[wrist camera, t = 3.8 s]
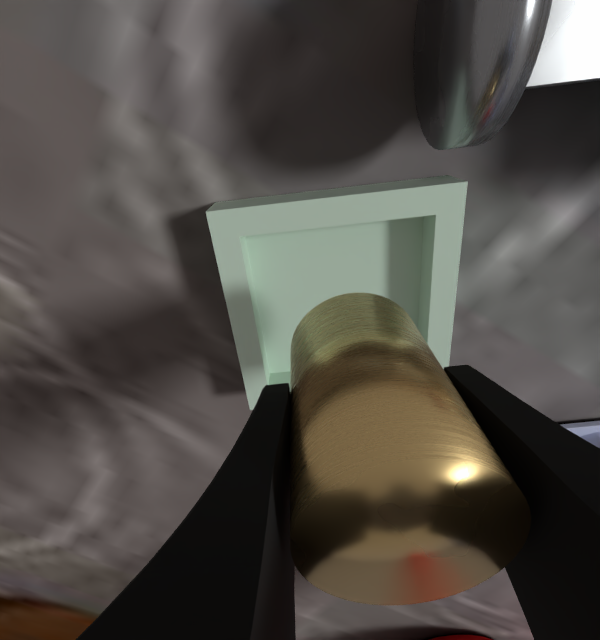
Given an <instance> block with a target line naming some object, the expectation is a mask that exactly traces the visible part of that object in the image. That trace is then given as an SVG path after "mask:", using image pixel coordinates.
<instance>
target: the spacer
mask: <svg viewBox="0 0 600 640" xmlns="http://www.w3.org/2000/svg"><path fill="white" fill-rule="evenodd" d="M530 526H531V513H530V508H529V505H528V503H527V500H526V498H525V497H524V495H523V493H522V492H521V490H520V489H519V487H518V486H517V484H516V482H515V481H514V479H513V478H512V476H511V475H510V473H509V471H508V470H507V468H506V467H505V465H504V464H503V462H502V460H501V459H500V457H499V456H498V454H497V453H496V451H495V449H494V448H493V446H492V445H491V443H490V442H489V440H488V438H487V437H486V435H485V434H484V432H483V431H482V429H481V427H480V426H479V424H478V423H477V421H476V420H475V418H474V416H473V415H472V413H471V412H470V410H469V409H468V407H467V406H466V404H465V402H464V401H463V399H462V398H461V396H460V395H459V393H458V391H457V390H456V388H455V387H454V385H453V384H452V382H451V380H450V379H449V377H448V376H447V374H446V373H445V371H444V369H443V368H442V366H441V365H440V363H439V362H438V360H437V358H436V357H435V355H434V354H433V352H432V351H431V349H430V347H429V346H428V344H427V343H426V341H425V340H424V338H423V336H422V335H421V333H420V332H419V330H418V329H417V327H416V325H415V324H414V322H413V321H412V319H411V318H410V316H409V315H408V313H407V312H406V311H405V310H404V309H403V308H402V307H400V306H399V305H398V304H397V303H395V302H393V301H392V300H390V299H388V298H385V297H383V296H380V295H376V294H371V293H347V294H343V295H338V296H335V297H332V298H330V299H328V300H326V301H324V302H322V303H320V304H319V305H317V306H316V307H314V308H313V309H312V310H311V311H309V312H308V313H307V314H306V315H305V316H304V318H303V319H302V320H301V321H300V323H299V324H298V326H297V328H296V330H295V332H294V334H293V338H292V341H291V350H290V551H291V556H292V559H293V561H294V564H295V566H296V567H297V569H298V570H299V572H300V573H301V574H302V575H303V576H304V577H305V578H306V579H307V580H308V581H309V582H310V583H311V584H313V585H314V586H315V587H317V588H319V589H321V590H322V591H324V592H326V593H328V594H331V595H333V596H336V597H339V598H342V599H345V600H349V601H353V602H358V603H364V604H372V605H406V604H416V603H422V602H428V601H433V600H437V599H441V598H445V597H448V596H452V595H455V594H457V593H460V592H463V591H465V590H468V589H470V588H472V587H474V586H476V585H478V584H480V583H482V582H484V581H485V580H487V579H489V578H490V577H492V576H493V575H495V574H496V573H498V572H499V571H500V570H502V569H503V568H504V567H505V566H506V565H508V564H509V563H510V562H511V561H512V560H513V558H514V557H515V556H516V555H517V554H518V553H519V551H520V550H521V548H522V547H523V545H524V543H525V541H526V539H527V537H528V534H529V531H530Z"/></svg>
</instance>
